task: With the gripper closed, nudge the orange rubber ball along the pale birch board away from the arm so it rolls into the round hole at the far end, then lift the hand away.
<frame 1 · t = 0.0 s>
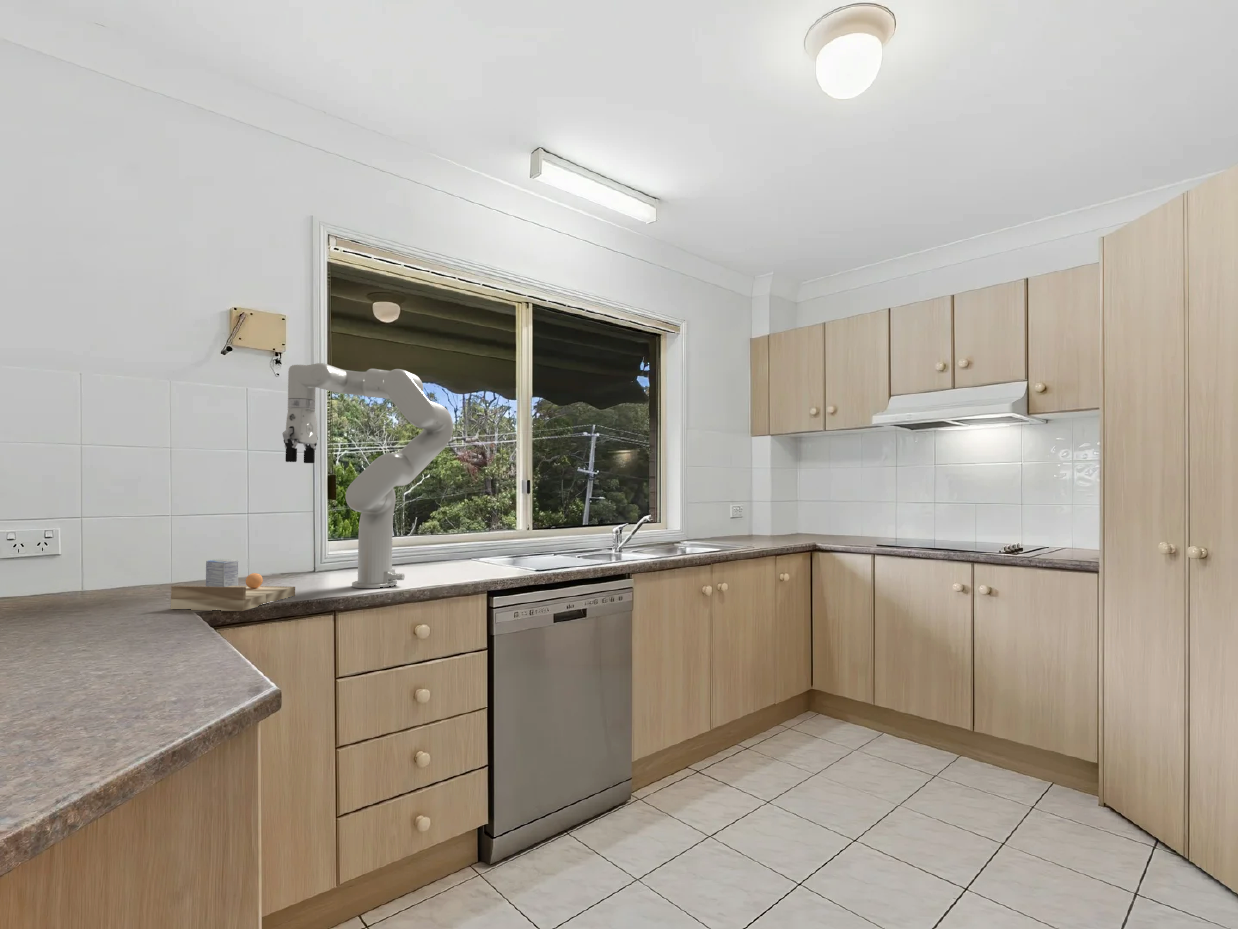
hand: (300, 462, 201), 37 cm above the worktop, tool pointing down, fingers open, 9 cm apart
ball: (254, 580, 176), point 4 cm above the worktop, touching board
medicine box: (221, 592, 187), on the worktop
board: (236, 602, 168), on the worktop
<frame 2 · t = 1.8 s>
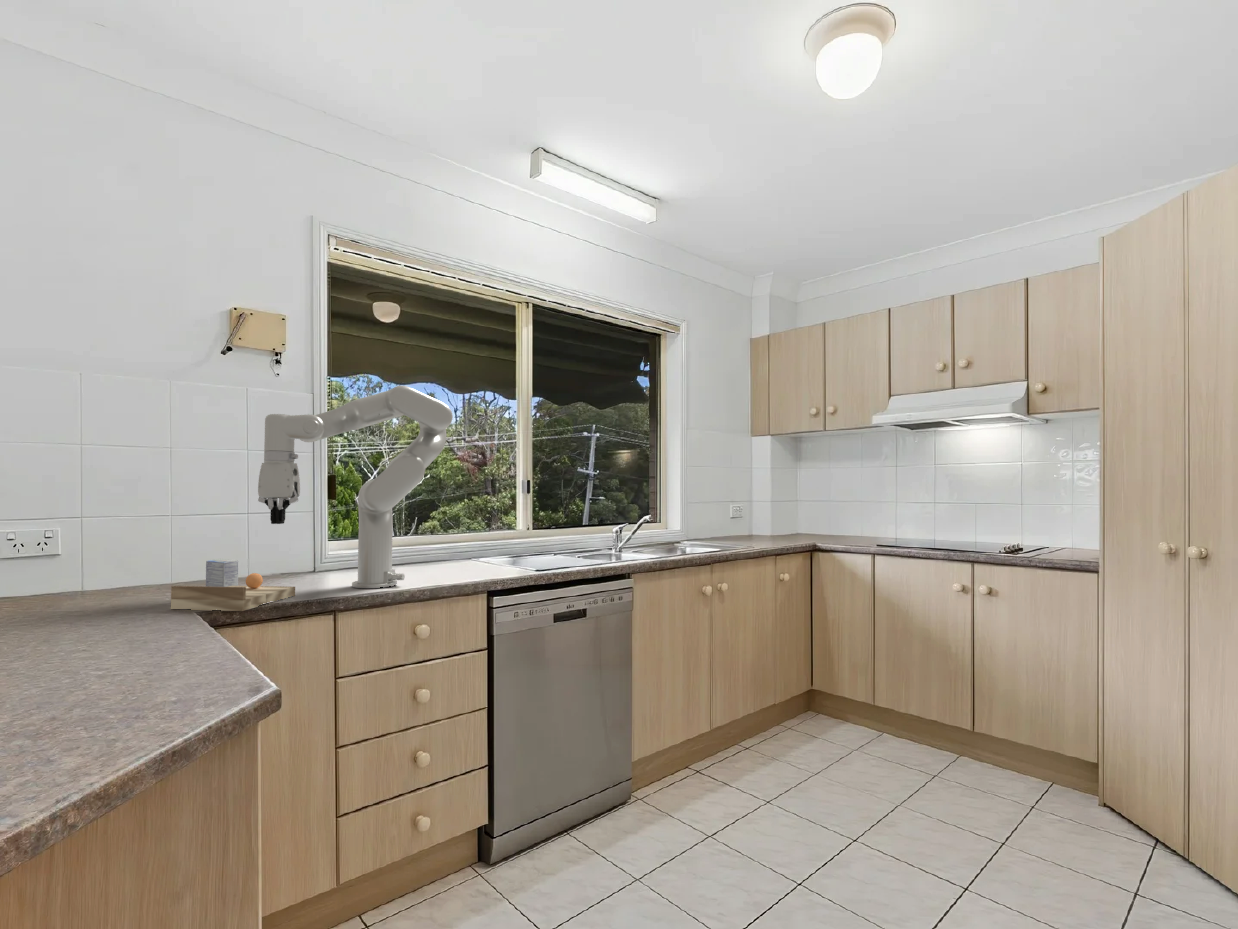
hand: (277, 523, 186), 19 cm above the worktop, tool pointing down, fingers closed
nothing on the worktop moved.
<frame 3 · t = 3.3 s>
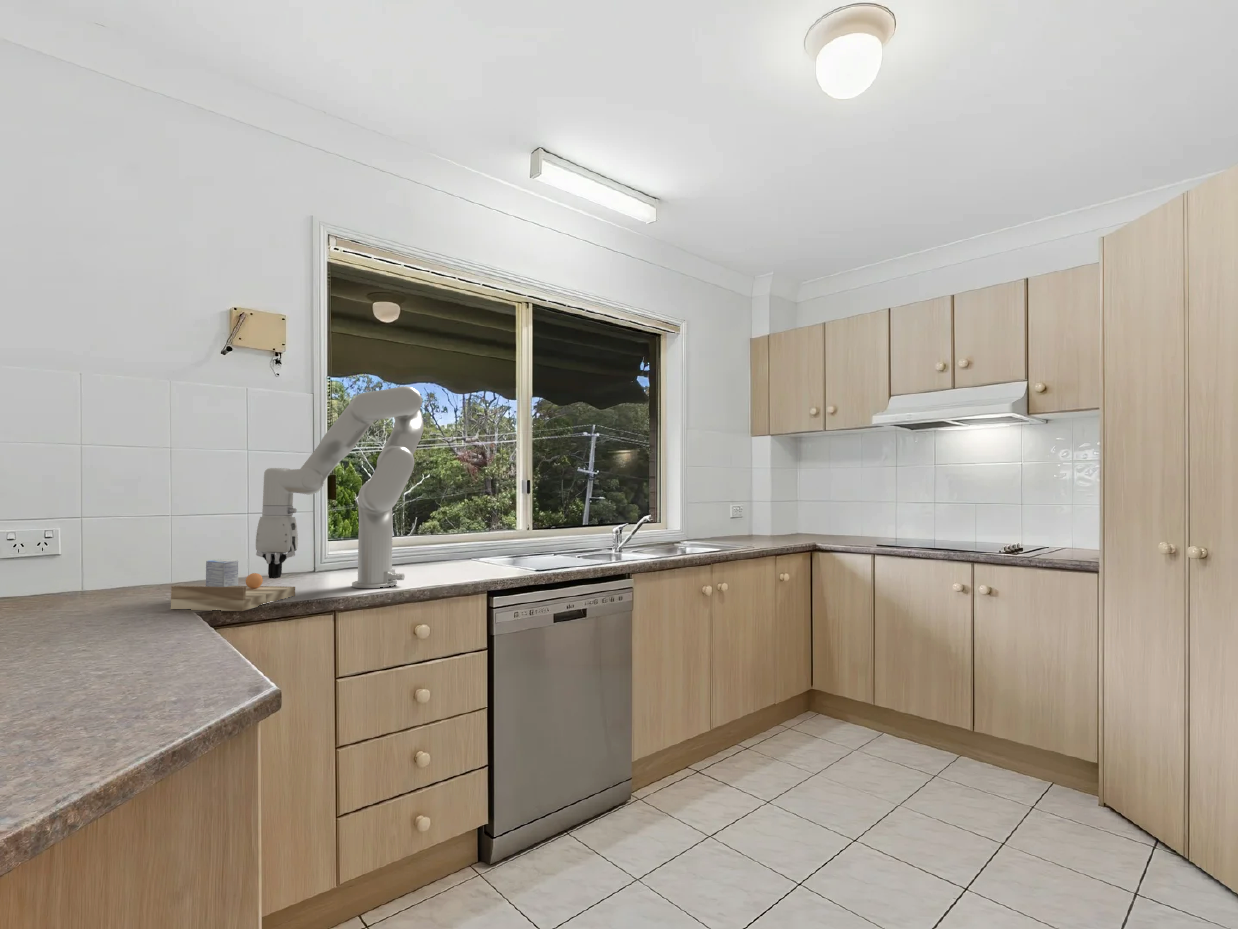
hand: (274, 577, 185), 4 cm above the worktop, tool pointing down, fingers closed
nothing on the worktop moved.
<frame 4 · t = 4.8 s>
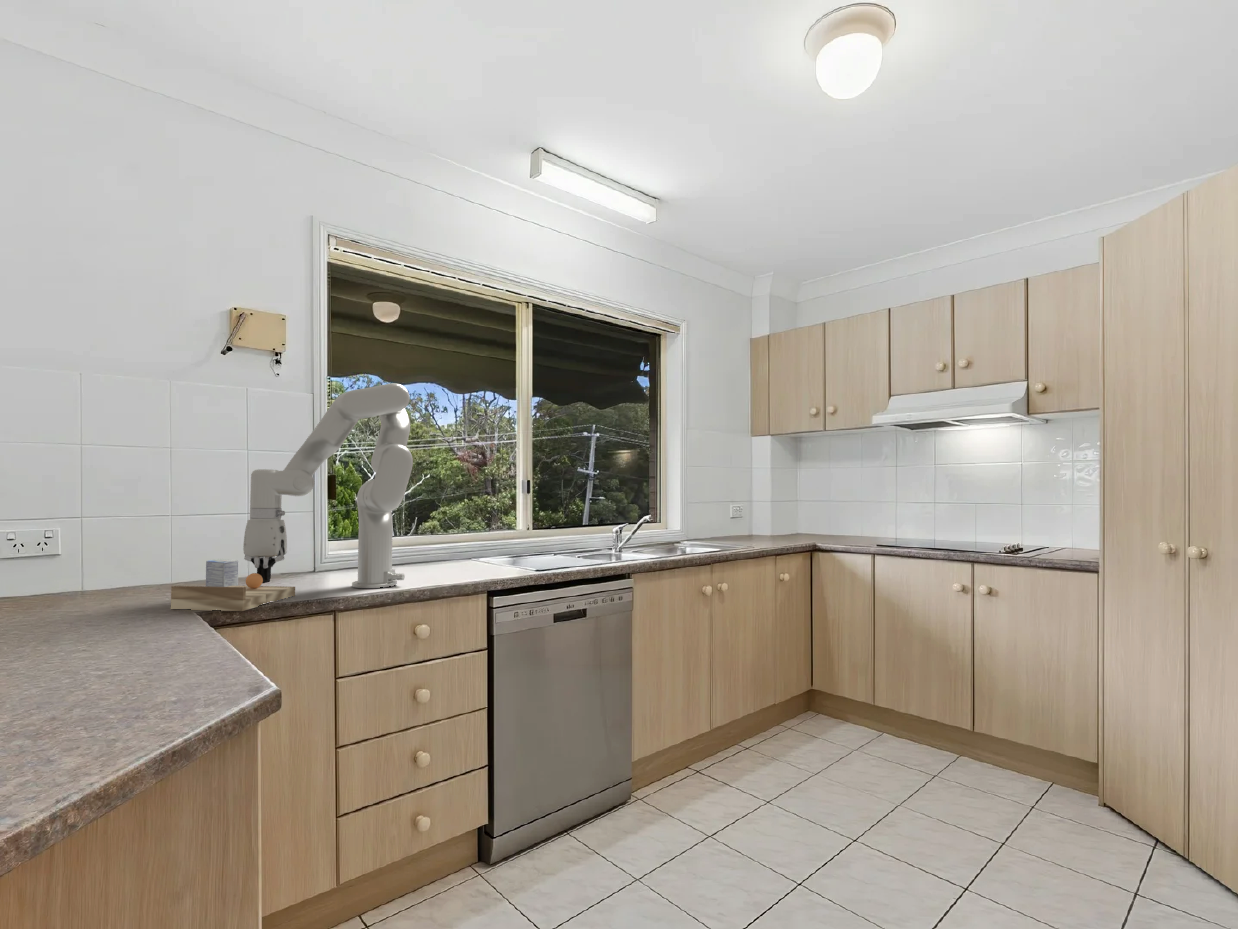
hand: (263, 582, 180), 3 cm above the worktop, tool pointing down, fingers closed
nothing on the worktop moved.
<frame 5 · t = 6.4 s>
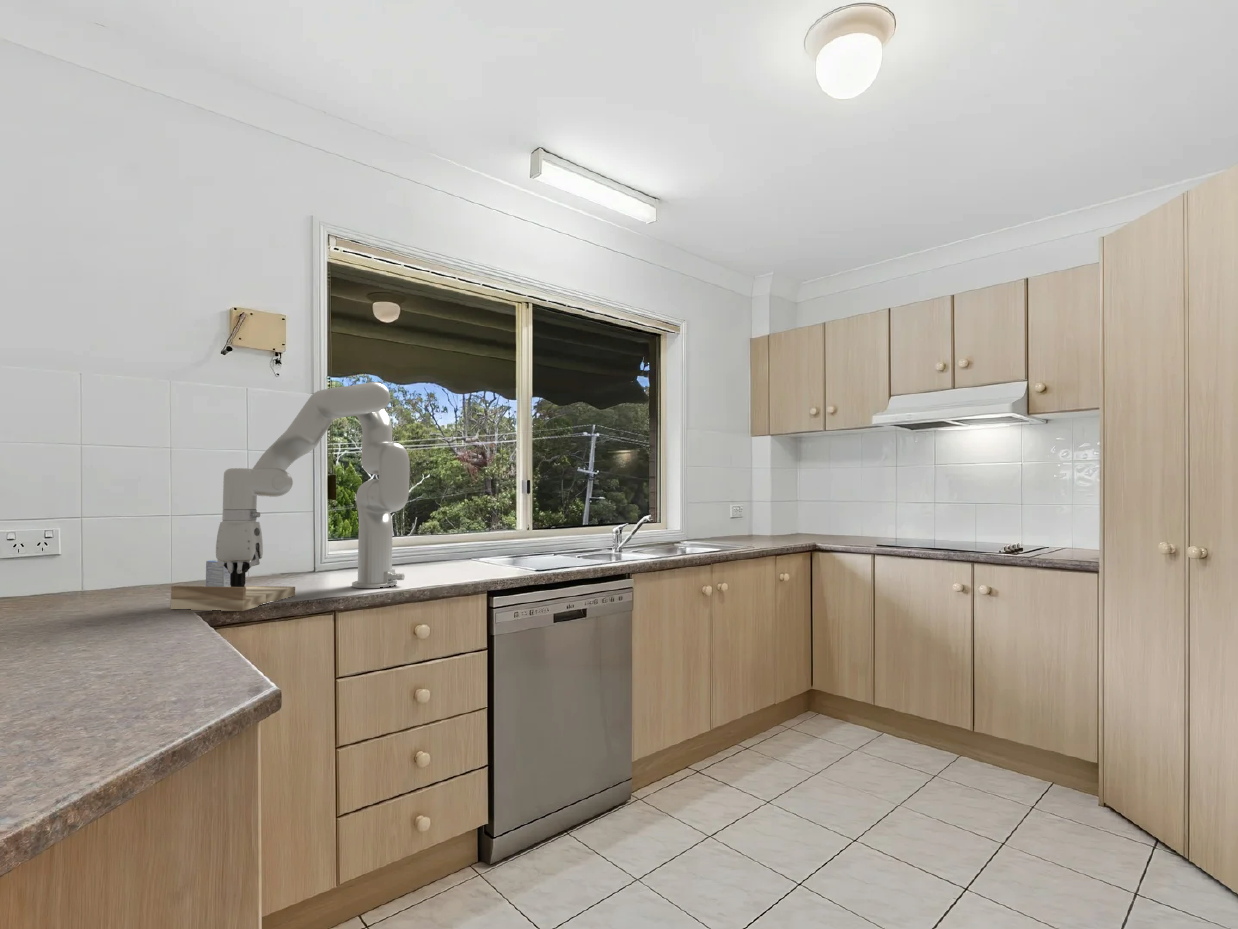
hand: (237, 588, 169), 3 cm above the worktop, tool pointing down, fingers closed
ball: (221, 598, 163), point 2 cm above the worktop, tilted 36°
everything else where it was.
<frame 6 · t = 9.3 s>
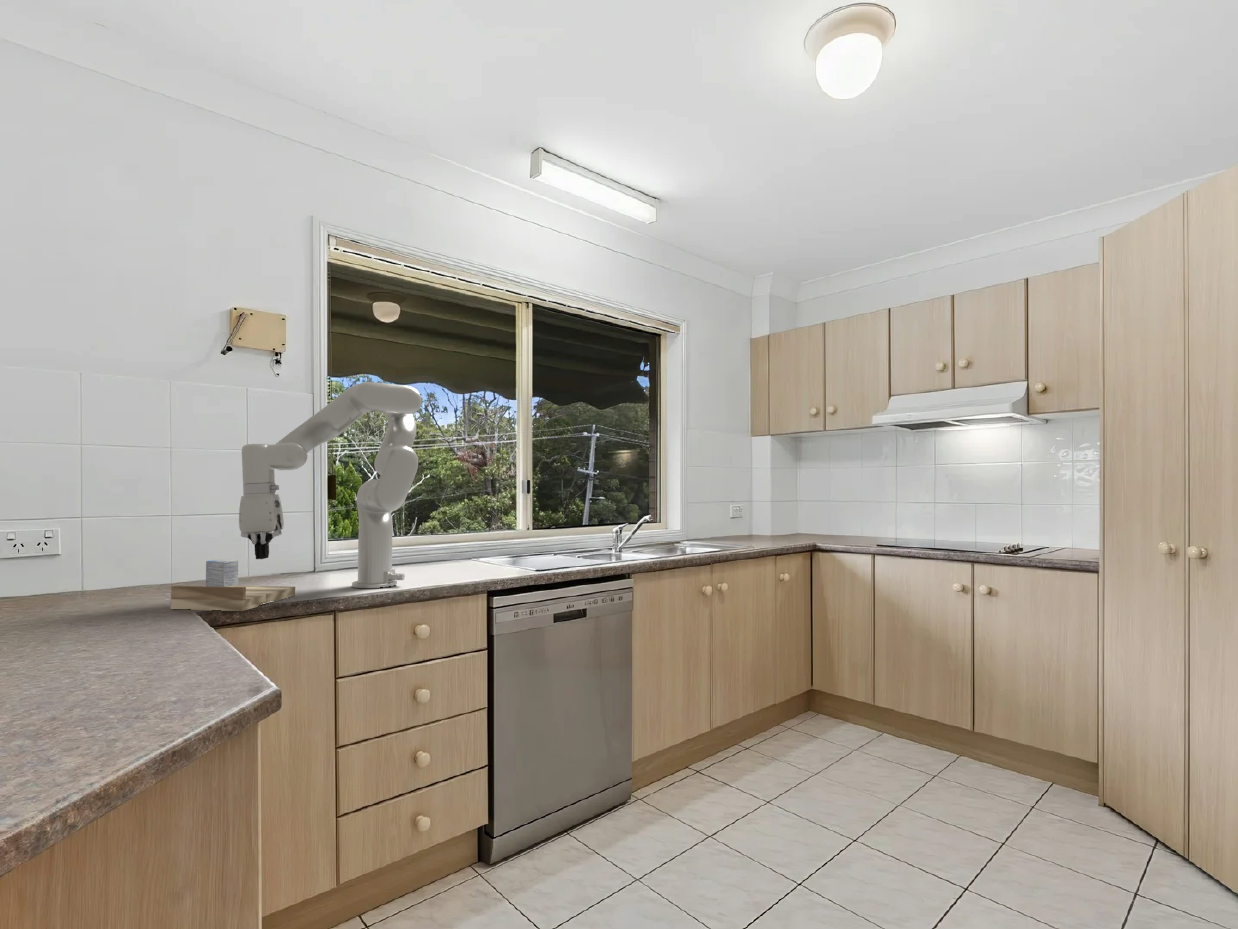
hand: (262, 558, 177), 10 cm above the worktop, tool pointing down, fingers closed
ball: (226, 597, 164), point 2 cm above the worktop, tilted 31°
everything else where it was.
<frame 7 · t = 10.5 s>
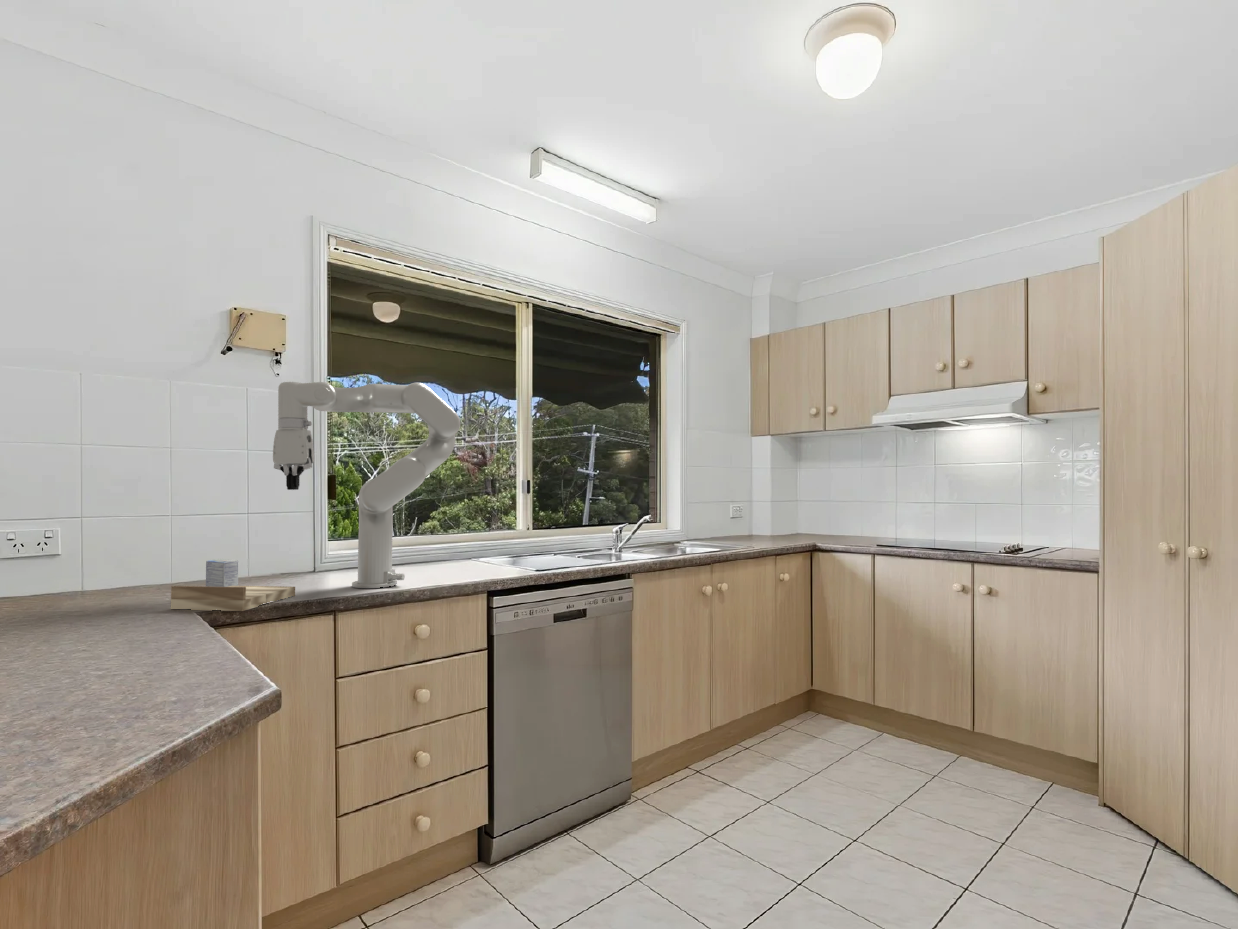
hand: (292, 489, 190), 29 cm above the worktop, tool pointing down, fingers closed
nothing on the worktop moved.
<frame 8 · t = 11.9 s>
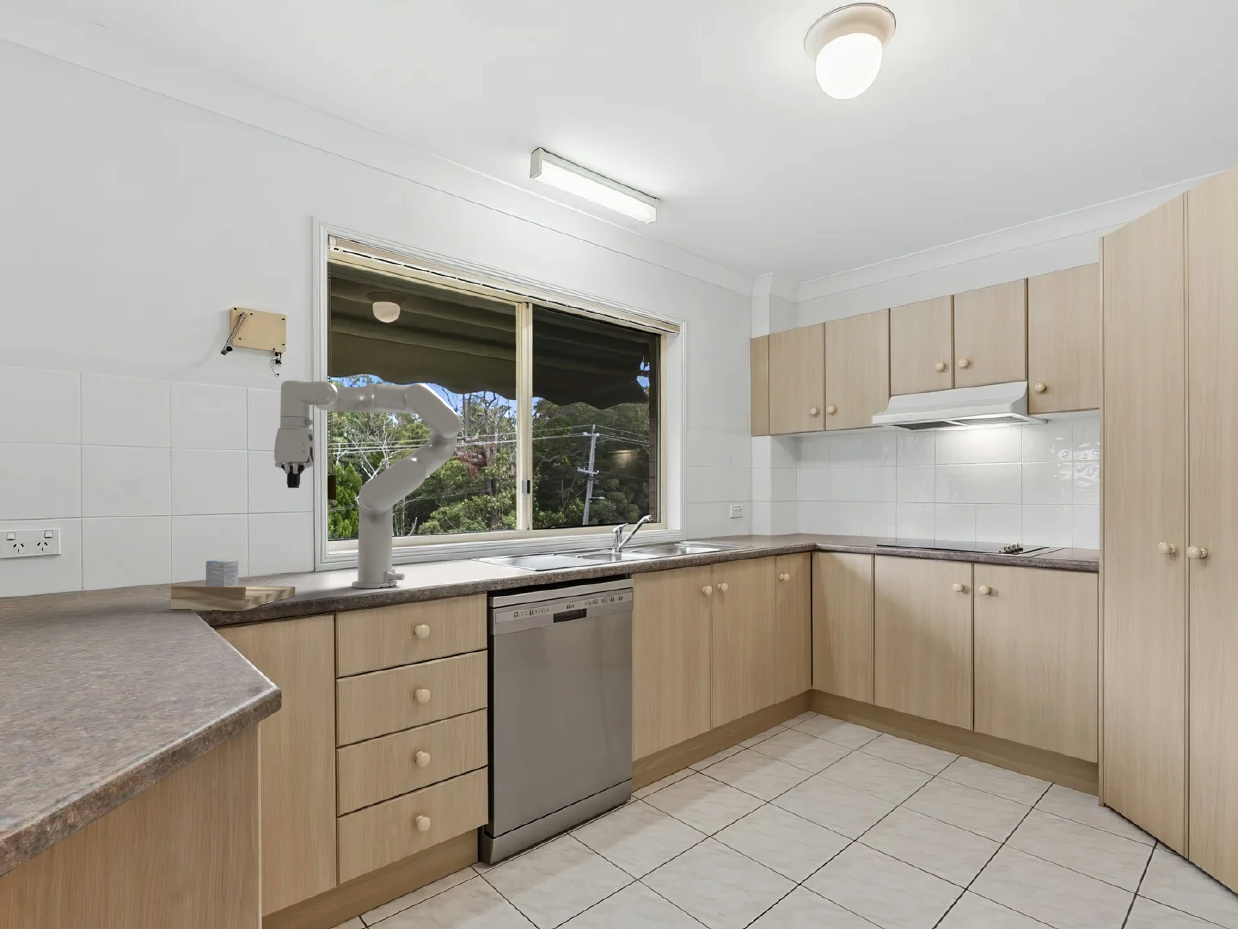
hand: (293, 487, 190), 29 cm above the worktop, tool pointing down, fingers closed
nothing on the worktop moved.
at the end: ball 0.2 cm from the target spot in the board, point 2.0 cm above the board's base; the gripper is holding nothing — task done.
